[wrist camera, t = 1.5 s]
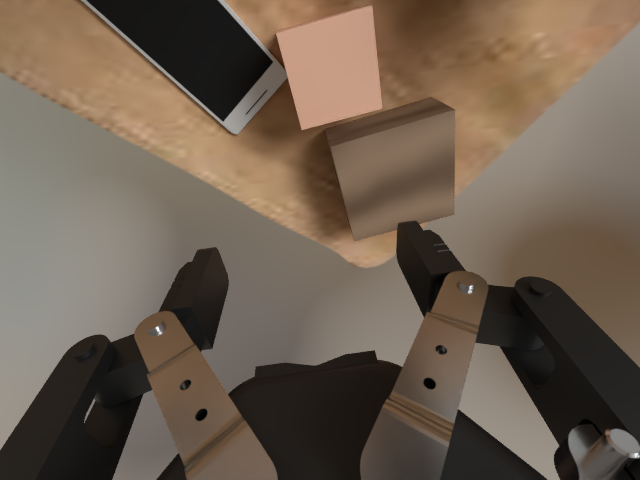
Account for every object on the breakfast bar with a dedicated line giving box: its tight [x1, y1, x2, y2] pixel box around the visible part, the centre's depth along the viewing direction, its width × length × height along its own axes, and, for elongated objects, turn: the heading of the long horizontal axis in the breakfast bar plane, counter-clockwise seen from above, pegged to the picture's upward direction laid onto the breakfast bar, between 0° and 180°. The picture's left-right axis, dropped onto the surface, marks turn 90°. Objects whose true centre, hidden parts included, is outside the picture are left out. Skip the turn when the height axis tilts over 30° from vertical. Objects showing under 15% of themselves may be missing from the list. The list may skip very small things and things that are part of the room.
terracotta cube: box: [276, 5, 382, 130], centre depth 22 cm, size 6×6×6 cm
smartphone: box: [81, 0, 288, 135], centre depth 22 cm, size 7×16×1 cm, turn 43°
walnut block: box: [325, 97, 455, 241], centre depth 28 cm, size 10×10×5 cm
